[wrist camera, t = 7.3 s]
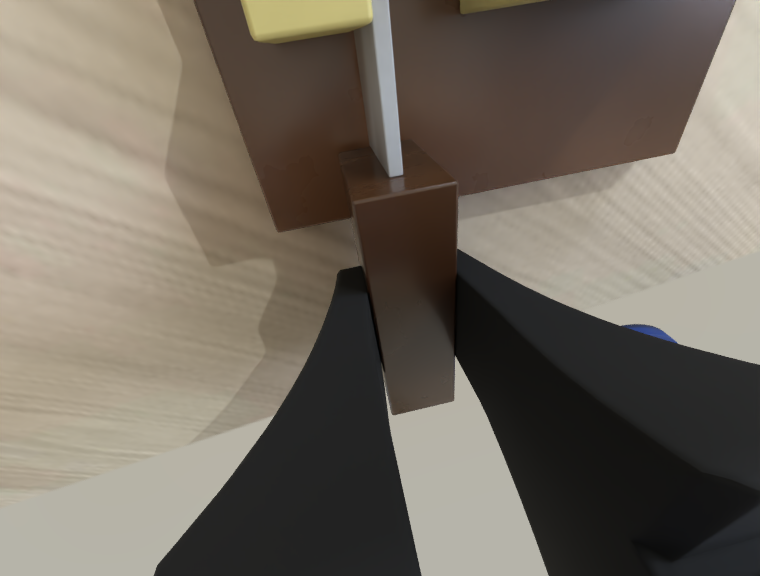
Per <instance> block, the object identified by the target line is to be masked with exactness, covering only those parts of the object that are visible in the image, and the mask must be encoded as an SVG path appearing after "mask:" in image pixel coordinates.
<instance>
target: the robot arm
mask: <svg viewBox="0 0 760 576" xmlns="http://www.w3.org/2000/svg"><path fill="white" fill-rule="evenodd" d="M455 356H456V357H457V359H458V361H459V363H460V365H461V367H462V369H463V370H464V372H465V374H466V376H467V378H468V380H469V381H470V384H471V385H472V387H473V389H474V391H475V393H476V395H477V397H478V398H479V400H480V402H481V404H482V406H483V409H484V410H485V413H486V415H487V417H488V419H489V422H490V424H491V426H492V429H493V431H494V434H495V436H496V438H497V441H498V443H499V446H500V448H501V450H502V453H503V455H504V458H505V460H506V463H507V465H508V468H509V471H510V473H511V476H512V478H513V481H514V483H515V486H516V488H517V491H518V493H519V496H520V499H521V501H522V504H523V506H524V509H525V512H526V514H527V517H528V520H529V523H530V525H531V528H532V531H533V533H534V536H535V538H536V541H537V544H538V547H539V550H540V553H541V555H542V558H543V561H544V564H545V566H546V569H547V572H548V575H549V576H760V365H757V364H753V363H749V362H745V361H741V360H737V359H733V358H729V357H725V356H721V355H717V354H714V353H710V352H705V351H702V350H698V349H694V348H691V347H687V346H683V345H680V344H677V343H673V342H670V341H666V340H663V339H659V338H656V337H653V336H650V335H647V334H644V333H640V332H637V331H634V330H631V329H628V328H625V327H622V326H618V325H616V324H613V323H610V322H607V321H605V320H602V319H599V318H596V317H594V316H591V315H589V314H586V313H584V312H581V311H579V310H576V309H574V308H571V307H569V306H566V305H564V304H562V303H559V302H557V301H555V300H552V299H550V298H548V297H546V296H544V295H542V294H540V293H538V292H536V291H533V290H531V289H529V288H527V287H525V286H523V285H521V284H519V283H517V282H515V281H514V280H512V279H510V278H508V277H506V276H504V275H502V274H501V273H499V272H497V271H495V270H493V269H492V268H490V267H488V266H486V265H485V264H483V263H481V262H480V261H478V260H476V259H474V258H473V257H471V256H469V255H468V254H466V253H464V252H462V251H460V250H459V249H457V279H456V330H455ZM154 576H421V572H420V567H419V562H418V558H417V553H416V549H415V544H414V539H413V535H412V530H411V525H410V521H409V516H408V511H407V507H406V502H405V497H404V493H403V489H402V484H401V479H400V474H399V470H398V465H397V460H396V456H395V451H394V446H393V442H392V437H391V432H390V426H389V419H388V411H387V403H386V396H385V387H384V379H383V371H382V363H381V358H380V353H379V347H378V342H377V337H376V332H375V327H374V322H373V317H372V311H371V306H370V301H369V296H368V291H367V286H366V282H365V278H364V274H363V270H362V267H361V266H358V267H353V268H348V269H343V270H340V271H339V273H338V274H337V281H336V286H335V290H334V294H333V297H332V301H331V304H330V307H329V309H328V312H327V315H326V318H325V321H324V323H323V326H322V328H321V331H320V333H319V335H318V338H317V340H316V342H315V344H314V347H313V349H312V351H311V353H310V355H309V357H308V359H307V361H306V363H305V365H304V367H303V369H302V371H301V373H300V374H299V376H298V378H297V380H296V382H295V384H294V385H293V387H292V389H291V390H290V392H289V394H288V395H287V397H286V398H285V400H284V402H283V403H282V405H281V406H280V408H279V410H278V411H277V413H276V414H275V416H274V417H273V419H272V420H271V422H270V424H269V425H268V427H267V428H266V430H265V431H264V432H263V434H262V435H261V436H260V438H259V439H258V441H257V442H256V444H255V445H254V446H253V447H252V449H251V450H250V451H249V453H248V454H247V455H246V457H245V458H244V460H243V461H242V462H241V464H240V465H239V466H238V468H237V469H236V471H235V472H234V473H233V475H232V476H231V477H230V478H229V480H228V481H227V482H226V484H225V485H224V486H223V488H222V489H221V490H220V491H219V492H218V494H217V495H216V496H215V497H214V498H213V500H212V501H211V502H210V503H209V504H208V506H207V507H206V508H205V509H204V511H203V512H202V513H201V514H200V515H199V516H198V518H197V519H196V520H195V521H194V522H193V524H192V525H191V526H190V527H189V528H188V530H187V531H186V532H185V533H184V534H183V536H182V537H181V538H180V539H179V541H178V542H177V543H176V544H175V545H174V546H173V548H172V549H171V550H170V551H169V552H168V553H167V555H166V556H165V557H164V558H163V559H162V560H161V562H160V563H159V564H158V565H157V568H156V571H155V574H154Z"/></svg>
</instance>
